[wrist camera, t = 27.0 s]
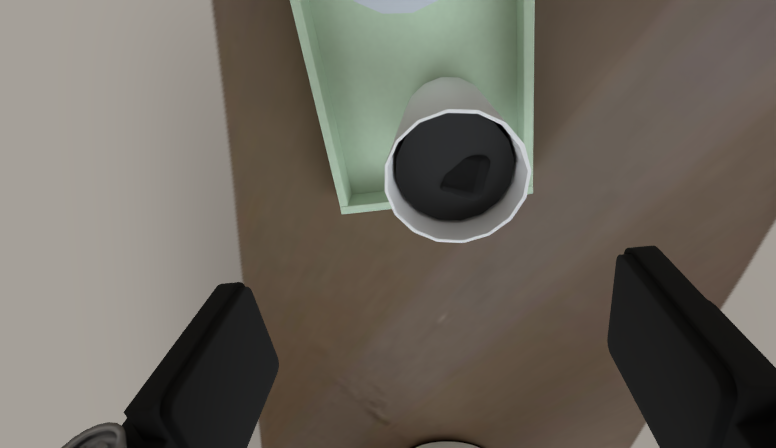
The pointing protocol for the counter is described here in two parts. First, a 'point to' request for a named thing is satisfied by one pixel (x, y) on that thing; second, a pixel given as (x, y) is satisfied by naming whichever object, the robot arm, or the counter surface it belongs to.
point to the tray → (408, 76)
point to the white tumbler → (455, 164)
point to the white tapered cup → (395, 5)
